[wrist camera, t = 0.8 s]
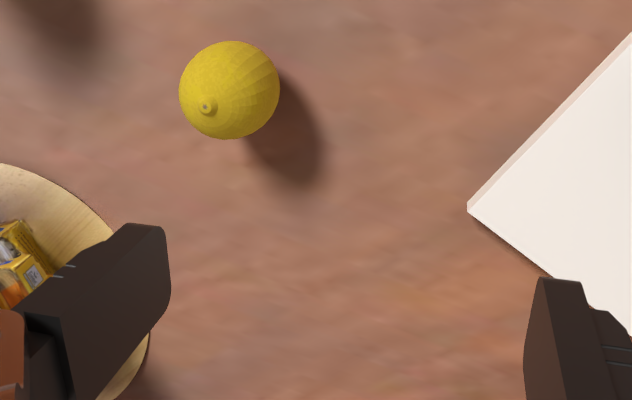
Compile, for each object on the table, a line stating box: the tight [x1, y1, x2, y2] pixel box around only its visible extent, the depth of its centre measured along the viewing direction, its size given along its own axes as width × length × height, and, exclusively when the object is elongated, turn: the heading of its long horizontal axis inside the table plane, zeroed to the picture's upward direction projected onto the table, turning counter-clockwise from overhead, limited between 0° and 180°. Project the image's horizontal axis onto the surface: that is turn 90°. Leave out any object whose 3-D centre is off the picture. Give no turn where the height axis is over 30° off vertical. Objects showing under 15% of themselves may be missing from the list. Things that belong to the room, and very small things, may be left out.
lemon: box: [179, 41, 280, 140], centre depth 34 cm, size 6×6×8 cm
